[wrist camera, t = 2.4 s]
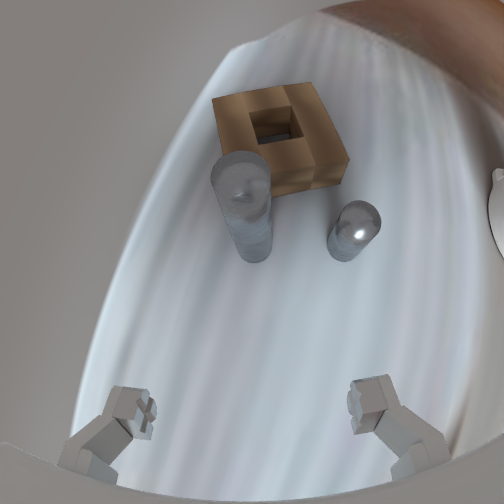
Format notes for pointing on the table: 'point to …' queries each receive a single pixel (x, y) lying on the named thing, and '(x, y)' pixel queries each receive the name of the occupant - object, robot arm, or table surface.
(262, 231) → the long pin
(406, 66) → the table surface
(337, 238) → the short pin
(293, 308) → the table surface
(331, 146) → the hole block
